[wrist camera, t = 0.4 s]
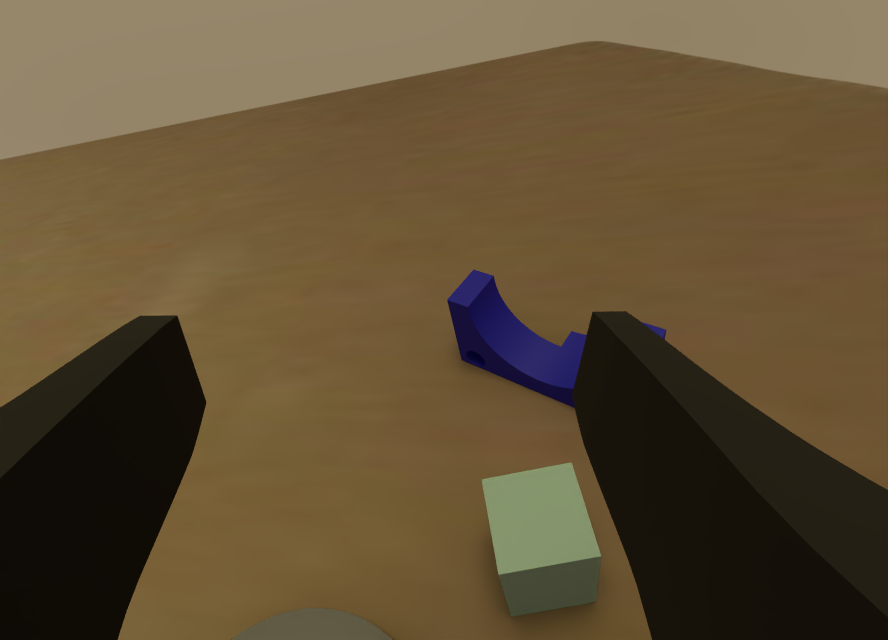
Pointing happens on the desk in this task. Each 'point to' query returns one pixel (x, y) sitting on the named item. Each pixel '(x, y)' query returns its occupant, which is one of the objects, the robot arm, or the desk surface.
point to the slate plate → (313, 627)
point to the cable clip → (513, 341)
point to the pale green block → (542, 539)
